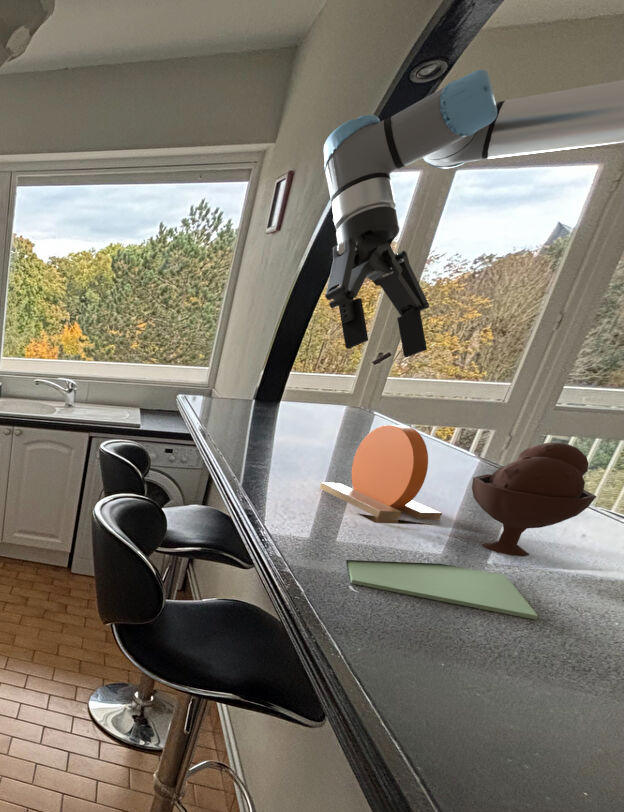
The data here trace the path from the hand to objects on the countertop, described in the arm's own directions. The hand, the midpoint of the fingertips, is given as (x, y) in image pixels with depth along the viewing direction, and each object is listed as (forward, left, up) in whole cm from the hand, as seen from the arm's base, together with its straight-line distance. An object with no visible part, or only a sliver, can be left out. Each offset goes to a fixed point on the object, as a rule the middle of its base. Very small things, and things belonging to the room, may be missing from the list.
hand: (387, 349), depth 89 cm
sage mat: (-7, +31, -24) cm, 40 cm away
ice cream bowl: (-17, +15, -25) cm, 34 cm away
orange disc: (-4, +3, -24) cm, 24 cm away
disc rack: (-4, +3, -24) cm, 25 cm away
